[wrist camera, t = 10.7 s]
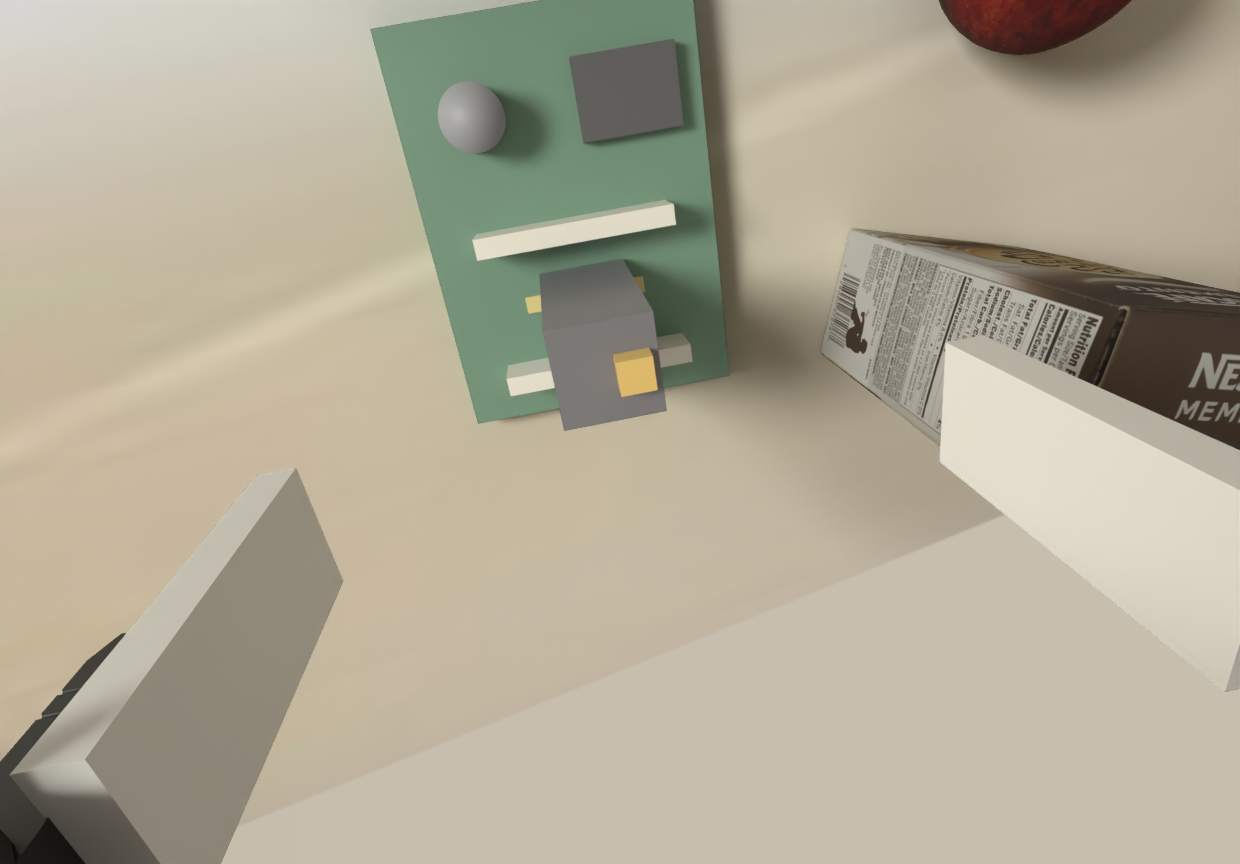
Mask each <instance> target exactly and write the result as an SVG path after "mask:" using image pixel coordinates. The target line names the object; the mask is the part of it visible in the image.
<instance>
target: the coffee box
mask: <svg viewBox="0 0 1240 864" xmlns="http://www.w3.org/2000/svg"><path fill="white" fill-rule="evenodd" d="M981 335H983V336H985V337H987V338H989V339H991V340H994V341H996V342H998V343H1000V344H1003V345H1005V346H1007V347H1009V348H1012V349H1014V350H1016V351H1018V352H1021V353H1023V354H1025V355H1027V356H1030V357H1032V358H1034V359H1036V360H1039V361H1041V362H1043V363H1045V364H1047V365H1050V366H1052V367H1054V368H1056V369H1059V370H1061V371H1063V372H1065V373H1068V374H1070V375H1072V376H1074V377H1077V378H1079V379H1081V380H1083V381H1086V382H1088V383H1090V384H1092V385H1095V386H1097V387H1099V388H1101V389H1104V390H1106V391H1108V392H1110V393H1112V394H1115V395H1117V396H1119V397H1121V398H1124V399H1126V400H1128V401H1130V402H1133V403H1135V404H1137V405H1139V406H1142V407H1144V408H1146V409H1148V410H1151V411H1153V412H1155V413H1157V414H1160V415H1162V416H1164V417H1166V418H1168V419H1171V420H1173V421H1175V422H1177V423H1180V424H1183V425H1187V426H1191V427H1195V428H1199V429H1203V430H1207V431H1210V432H1213V433H1215V434H1218V435H1220V436H1222V437H1224V438H1227V439H1229V440H1231V441H1234V442H1236V443H1238V444H1240V293H1238V292H1233V291H1228V290H1222V289H1217V288H1213V287H1208V286H1203V285H1199V284H1194V283H1189V282H1185V281H1180V280H1175V279H1171V278H1166V277H1161V276H1156V275H1150V274H1145V273H1140V272H1136V271H1131V270H1127V269H1122V268H1118V267H1113V266H1108V265H1104V264H1099V263H1094V262H1089V261H1084V260H1079V259H1075V258H1070V257H1065V256H1060V255H1055V254H1050V253H1045V252H1040V251H1035V250H1030V249H1025V248H1020V247H1013V246H1006V245H997V244H988V243H978V242H969V241H959V240H950V239H942V238H933V237H924V236H915V235H906V234H896V233H887V232H879V231H870V230H861V229H852V230H851V231H850V233H849V237H848V241H847V245H846V249H845V253H844V257H843V261H842V265H841V269H840V273H839V277H838V281H837V286H836V290H835V294H834V298H833V302H832V306H831V310H830V314H829V318H828V323H827V326H826V330H825V335H824V339H823V343H822V347H821V353H822V355H823V356H825V357H826V358H827V359H828V360H830V361H831V362H833V363H834V364H835V365H837V366H838V367H839V368H840V369H842V370H843V371H844V372H846V373H847V374H848V375H849V376H851V377H852V378H853V379H854V380H856V381H857V382H858V383H859V384H861V385H862V386H863V387H865V388H866V389H867V390H868V391H870V392H871V393H873V394H874V395H875V396H876V397H877V398H879V399H880V400H881V401H883V402H884V403H885V404H886V405H887V406H889V407H890V408H891V409H893V410H894V411H895V412H896V413H898V414H899V415H900V416H902V417H903V418H904V419H905V420H907V421H908V422H909V423H910V424H912V425H913V426H914V427H916V428H917V429H918V430H919V431H921V432H922V433H923V434H924V435H926V436H927V437H928V438H930V439H931V440H932V441H934V442H935V443H936V444H937V445H938V446H940V443H941V424H942V404H943V385H944V365H945V346H946V342H950V341H955V340H960V339H965V338H971V337H976V336H981Z"/></svg>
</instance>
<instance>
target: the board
mask: <svg viewBox="0 0 1240 864" xmlns="http://www.w3.org/2000/svg"><path fill="white" fill-rule="evenodd" d="M370 30H371V34H372V38H373V41H374V45H375V49H376V52H377V56H378V60H379V63H380V67H381V71H382V74H383V78H384V82H385V85H386V89H387V93H388V96H389V100H390V103H391V107H392V111H393V114H394V118H395V122H396V125H397V129H398V133H399V136H400V140H401V144H402V147H403V151H404V155H405V158H406V162H407V166H408V169H409V173H410V177H411V180H412V184H413V188H414V191H415V195H416V199H417V202H418V206H419V210H420V213H421V217H422V220H423V224H424V228H425V231H426V235H427V239H428V242H429V246H430V250H431V253H432V257H433V261H434V264H435V268H436V272H437V275H438V279H439V283H440V286H441V290H442V294H443V297H444V301H445V305H446V308H447V312H448V316H449V319H450V323H451V326H452V330H453V334H454V337H455V341H456V345H457V348H458V352H459V356H460V359H461V363H462V367H463V370H464V374H465V378H466V381H467V385H468V389H469V392H470V396H471V400H472V403H473V407H474V411H475V414H476V418H477V422H478V424H480V423H485V422H490V421H495V420H500V419H506V418H511V417H516V416H521V415H526V414H532V413H537V412H542V411H547V410H552V409H558V408H559V404H558V400H557V395H556V391H555V386H554V382H553V377H552V373H551V368H550V364H549V359H548V355H547V350H546V346H545V341H544V336H543V332H542V312H541V293H540V274H541V273H547V272H552V271H557V270H563V269H568V268H574V267H579V266H584V265H590V264H595V263H600V262H606V261H611V260H616V259H623V260H624V262H625V264H626V266H627V267H628V269H629V271H630V272H631V274H632V276H633V278H634V279H635V281H636V283H637V284H638V286H639V288H640V290H641V291H642V293H643V295H644V296H645V298H646V300H647V302H648V303H649V305H650V307H651V308H652V310H653V314H654V322H655V329H656V336H657V343H658V351H659V358H660V365H661V373H662V380H663V387H664V388H667V387H672V386H677V385H683V384H688V383H693V382H698V381H704V380H709V379H714V378H719V377H724V376H729V365H728V355H727V345H726V334H725V324H724V314H723V303H722V293H721V283H720V272H719V262H718V252H717V241H716V231H715V220H714V210H713V200H712V189H711V179H710V169H709V158H708V148H707V138H706V127H705V117H704V107H703V96H702V86H701V75H700V65H699V55H698V44H697V34H696V24H695V13H694V3H693V0H539V1H533V2H527V3H521V4H515V5H509V6H504V7H498V8H492V9H486V10H480V11H474V12H468V13H462V14H456V15H450V16H444V17H438V18H432V19H426V20H420V21H414V22H408V23H403V24H397V25H391V26H385V27H379V28H373V29H370Z"/></svg>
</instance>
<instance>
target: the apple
mask: <svg viewBox="0 0 1240 864" xmlns="http://www.w3.org/2000/svg"><path fill="white" fill-rule="evenodd" d="M1130 1H1131V0H939V2H940V5H941V7H942V9H943V11H944V13H945V15H946V16H947V18H948V19H949V21H950V22H951V24H952V25H953V26H954V27H955V28H956V29H957V30H958V31H959V32H960V33H961V34H962V35H964V36H965V37H966V38H968V39H969V40H970V41H972V42H973V43H975V44H977V45H979V46H981V47H984V48H986V49H989V50H992V51H996V52H1000V53H1005V54H1012V55H1024V54H1035V53H1039V52H1043V51H1047V50H1050V49H1053V48H1056V47H1058V46H1061V45H1064V44H1066V43H1068V42H1071V41H1073V40H1075V39H1077V38H1079V37H1081V36H1083V35H1085V34H1087V33H1088V32H1090V31H1092V30H1094V29H1095V28H1097V27H1099V26H1100V25H1102V24H1103V23H1105V22H1106V21H1108V20H1109V19H1110V18H1112V17H1113V16H1114V15H1116V14H1117V13H1118V12H1119V11H1120V10H1122V9H1123V8H1124V7H1125V6H1126V5H1127V4H1128V3H1129V2H1130Z"/></svg>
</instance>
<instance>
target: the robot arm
mask: <svg viewBox="0 0 1240 864" xmlns="http://www.w3.org/2000/svg"><path fill="white" fill-rule="evenodd" d="M940 463H942V464H943V465H944V466H945V467H947V468H948V469H949V470H950V471H952V472H953V473H954V474H955V475H957V476H958V477H959V478H960V479H962V480H963V481H964V482H965V483H966V484H968V485H969V486H970V487H971V488H973V489H974V490H975V491H976V492H978V493H979V494H980V495H981V496H983V497H984V498H985V499H986V500H988V501H989V502H990V503H991V504H993V505H994V506H995V507H996V508H997V509H999V510H1000V511H1001V512H1002V513H1004V514H1005V515H1006V516H1007V517H1009V518H1010V519H1011V520H1012V521H1014V522H1015V523H1016V524H1017V525H1019V526H1020V527H1021V528H1022V529H1024V530H1025V531H1026V532H1027V533H1028V534H1030V535H1031V536H1032V537H1033V538H1035V539H1036V540H1037V541H1039V542H1040V543H1041V544H1042V545H1043V546H1045V547H1046V548H1047V549H1048V550H1050V551H1051V552H1052V553H1053V554H1054V555H1056V556H1057V557H1058V558H1059V559H1061V560H1062V561H1063V562H1064V563H1066V564H1067V565H1068V566H1069V567H1071V568H1072V569H1073V570H1074V571H1076V572H1077V573H1078V574H1079V575H1081V576H1082V577H1083V578H1084V579H1085V580H1087V581H1088V582H1090V584H1092V585H1093V586H1094V587H1095V588H1097V589H1098V590H1099V591H1100V592H1102V593H1103V594H1104V595H1105V596H1107V597H1108V598H1109V599H1110V600H1111V601H1113V602H1114V603H1115V604H1117V605H1118V606H1119V607H1120V608H1121V609H1123V610H1124V611H1125V612H1126V613H1128V614H1129V615H1130V616H1131V617H1133V618H1134V619H1135V620H1136V621H1137V622H1139V623H1140V624H1141V625H1142V626H1144V627H1145V628H1147V630H1149V631H1150V632H1151V633H1152V634H1154V635H1155V636H1156V637H1157V638H1159V639H1160V640H1161V641H1162V642H1164V643H1165V644H1166V645H1167V646H1169V647H1170V648H1171V649H1172V650H1173V651H1175V652H1176V653H1177V654H1178V655H1180V656H1181V657H1182V658H1183V659H1185V660H1186V661H1187V662H1189V663H1190V664H1191V665H1192V666H1193V667H1195V668H1196V669H1197V670H1199V671H1200V672H1201V673H1202V674H1203V675H1205V676H1206V677H1207V678H1208V679H1209V680H1211V681H1212V682H1213V683H1214V684H1216V685H1217V686H1218V687H1219V688H1221V689H1222V690H1223V691H1224V692H1227V691H1231V690H1237V689H1240V444H1238V443H1236V442H1234V441H1231V440H1229V439H1227V438H1224V437H1222V436H1220V435H1218V434H1215V433H1213V432H1210V431H1207V430H1203V429H1199V428H1195V427H1191V426H1187V425H1183V424H1180V423H1177V422H1175V421H1173V420H1171V419H1168V418H1166V417H1164V416H1162V415H1160V414H1157V413H1155V412H1153V411H1151V410H1148V409H1146V408H1144V407H1142V406H1139V405H1137V404H1135V403H1133V402H1130V401H1128V400H1126V399H1124V398H1121V397H1119V396H1117V395H1115V394H1112V393H1110V392H1108V391H1106V390H1104V389H1101V388H1099V387H1097V386H1095V385H1092V384H1090V383H1088V382H1086V381H1083V380H1081V379H1079V378H1077V377H1074V376H1072V375H1070V374H1068V373H1065V372H1063V371H1061V370H1059V369H1056V368H1054V367H1052V366H1050V365H1047V364H1045V363H1043V362H1041V361H1039V360H1036V359H1034V358H1032V357H1030V356H1027V355H1025V354H1023V353H1021V352H1018V351H1016V350H1014V349H1012V348H1009V347H1007V346H1005V345H1003V344H1000V343H998V342H996V341H994V340H991V339H989V338H987V337H985V336H983V335H981V336H976V337H971V338H965V339H960V340H955V341H950V342H946V346H945V365H944V385H943V404H942V424H941V443H940ZM342 583H343V579H342V577H341V574H340V572H339V570H338V567H337V565H336V562H335V560H334V558H333V555H332V553H331V550H330V548H329V546H328V543H327V541H326V538H325V536H324V534H323V531H322V529H321V526H320V524H319V522H318V519H317V517H316V514H315V512H314V509H313V507H312V505H311V502H310V500H309V497H308V495H307V493H306V490H305V488H304V485H303V483H302V481H301V478H300V476H299V473H298V471H297V469H296V468H292V469H287V470H282V471H277V472H272V473H266V474H261V475H257V476H256V477H255V478H254V479H253V480H252V482H251V483H250V484H249V485H248V486H247V488H246V489H245V490H244V491H243V493H242V494H241V495H240V496H239V497H238V499H237V500H236V501H235V502H234V503H233V505H232V506H231V507H230V508H229V509H228V511H227V512H226V513H225V514H224V516H223V517H222V518H221V519H220V520H219V522H218V523H217V524H216V525H215V526H214V528H213V529H212V530H211V531H210V533H209V534H208V535H207V536H206V537H205V539H204V540H203V541H202V542H201V543H200V545H199V546H198V547H197V548H196V550H195V551H194V552H193V553H192V554H191V556H190V557H189V558H188V559H187V560H186V562H185V563H184V564H183V565H182V566H181V568H180V569H179V570H178V571H177V573H176V574H175V575H174V576H173V577H172V579H171V580H170V581H169V582H168V583H167V585H166V586H165V587H164V588H163V590H162V591H161V592H160V593H159V594H158V596H157V597H156V598H155V599H154V600H153V602H152V603H151V604H150V605H149V606H148V608H147V609H146V610H145V611H144V613H143V614H142V615H141V616H140V617H139V619H138V620H137V621H136V622H135V623H134V625H133V626H132V627H131V628H130V630H129V631H128V632H127V633H123V634H120V635H119V636H118V637H117V638H115V639H114V640H113V641H112V642H110V643H109V644H108V645H106V646H105V647H104V648H103V649H101V650H100V651H99V652H98V653H96V654H95V655H94V656H92V657H91V658H90V659H89V660H87V661H86V662H85V664H84V665H83V666H82V667H81V668H80V669H79V671H78V672H77V673H76V674H75V675H74V676H73V678H72V679H71V680H70V681H69V682H68V683H67V685H66V686H65V687H64V688H63V689H62V691H63V694H62V695H57V696H56V697H55V699H54V700H53V701H52V702H51V703H50V704H49V706H48V707H47V708H46V709H45V710H44V711H43V713H42V719H39V720H36V721H35V722H34V723H33V724H32V725H31V727H30V728H29V729H28V730H27V731H26V732H25V734H24V735H23V736H22V737H21V738H20V739H19V741H18V742H17V743H16V744H15V745H14V746H13V748H12V749H11V750H10V751H9V752H8V753H7V755H6V756H5V757H4V758H3V759H2V760H1V762H0V864H221V862H222V860H223V857H224V855H225V853H226V850H227V848H228V846H229V844H230V841H231V839H232V837H233V834H234V832H235V830H236V828H237V825H238V823H239V821H240V818H241V816H242V814H243V811H244V809H245V807H246V804H247V802H248V800H249V798H250V795H251V793H252V791H253V788H254V786H255V784H256V781H257V779H258V777H259V775H260V772H261V770H262V768H263V765H264V763H265V761H266V758H267V756H268V754H269V751H270V749H271V747H272V745H273V742H274V740H275V738H276V735H277V733H278V731H279V728H280V726H281V724H282V721H283V719H284V717H285V715H286V712H287V710H288V708H289V705H290V703H291V701H292V698H293V696H294V694H295V691H296V689H297V687H298V685H299V682H300V680H301V678H302V675H303V673H304V671H305V668H306V666H307V664H308V662H309V659H310V657H311V655H312V652H313V650H314V648H315V645H316V643H317V641H318V638H319V636H320V634H321V632H322V629H323V627H324V625H325V622H326V620H327V618H328V615H329V613H330V611H331V608H332V606H333V604H334V602H335V599H336V597H337V595H338V592H339V590H340V588H341V585H342Z"/></svg>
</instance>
